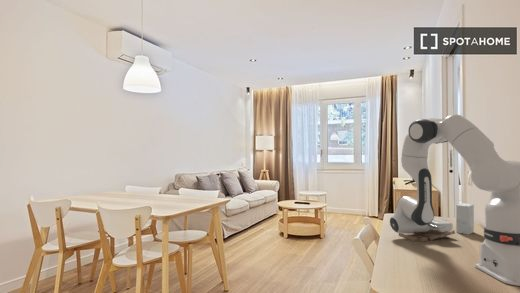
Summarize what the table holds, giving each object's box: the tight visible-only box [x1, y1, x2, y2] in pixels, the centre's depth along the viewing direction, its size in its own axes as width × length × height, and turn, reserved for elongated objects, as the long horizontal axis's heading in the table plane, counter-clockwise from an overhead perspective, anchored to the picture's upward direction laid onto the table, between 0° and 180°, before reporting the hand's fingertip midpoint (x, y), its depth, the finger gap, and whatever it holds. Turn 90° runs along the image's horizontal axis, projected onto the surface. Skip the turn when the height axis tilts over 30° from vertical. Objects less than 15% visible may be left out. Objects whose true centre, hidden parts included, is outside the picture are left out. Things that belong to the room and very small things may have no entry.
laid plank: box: [398, 232, 429, 243], centre depth 151 cm, size 7×12×2 cm, turn 12°
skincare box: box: [455, 202, 475, 236], centre depth 161 cm, size 8×6×15 cm
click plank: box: [414, 228, 456, 241], centre depth 154 cm, size 2×12×14 cm
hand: (445, 221), depth 155 cm, fingers closed
